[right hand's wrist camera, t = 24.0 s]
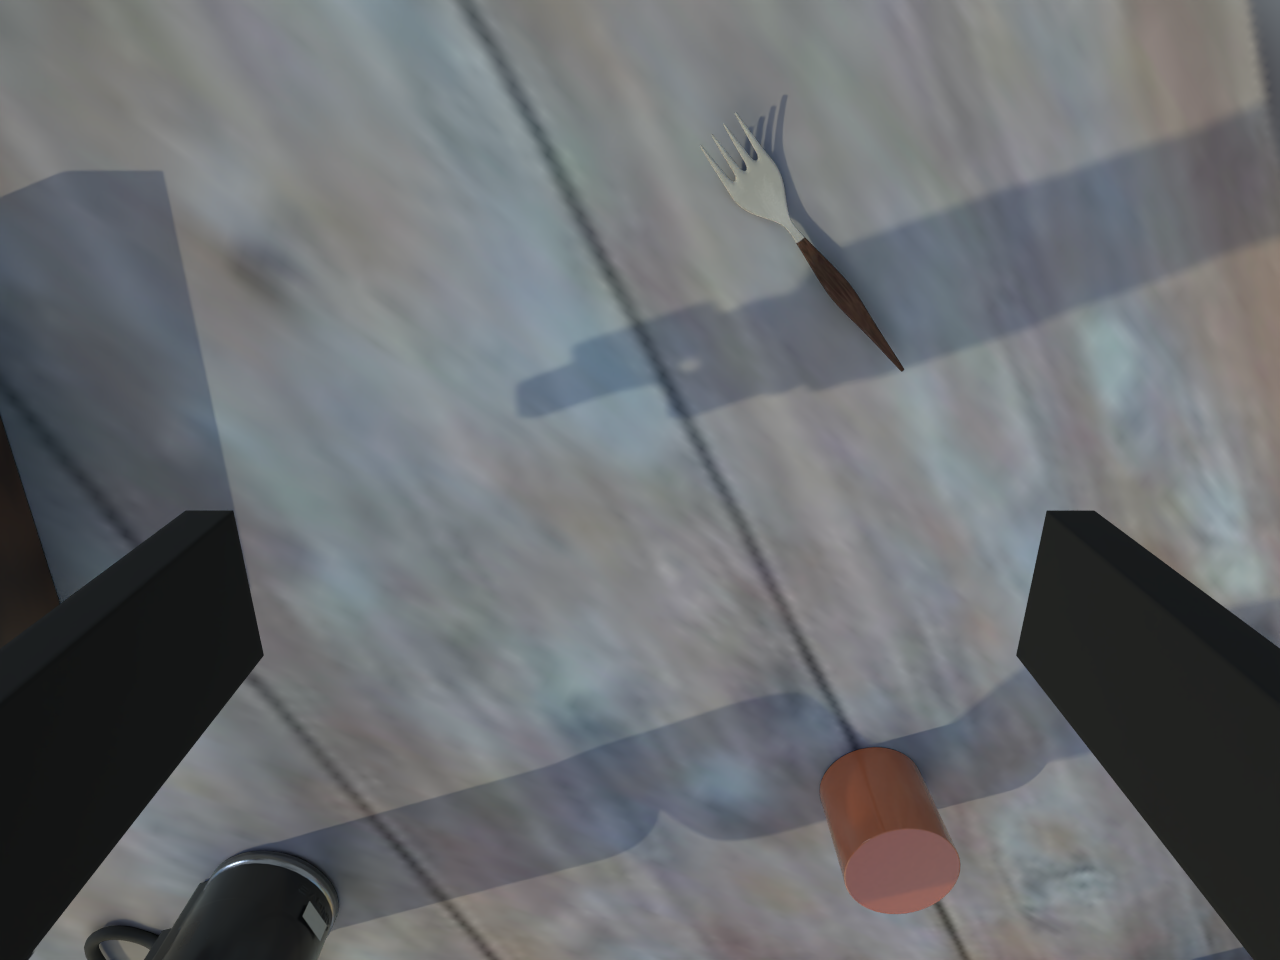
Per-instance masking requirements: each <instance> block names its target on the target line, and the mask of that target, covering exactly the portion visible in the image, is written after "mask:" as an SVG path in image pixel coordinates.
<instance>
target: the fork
mask: <svg viewBox="0 0 1280 960" xmlns="http://www.w3.org/2000/svg"><path fill="white" fill-rule="evenodd" d="M734 114H735V115H736V117H737V119H738V120H739V122H740V124H741V126H742V128H743V130H744V131H745V133H746V135H747V137H748V139H749V140H750V142H751V144H752V146H753V147H754V149H755V151H756V153H757V155H758V160H757V161H755V160H753V159H752V158H751V157H750V156H749V154H748V153H747V152H746V151H745V149H744V148H743V147H742V145H741V144H740V143H739V142H738V140H737V139H736V138H735V136H734V135H733V134H732V133H731V131H730V130H729V129H728V128H727V126H726V125H725V124H724V123H723V125H724V127H725V129H726V131H727V132H728V134H729V136H730V138H731V140H732V141H733V143H734V145H735V147H736V148H737V150H738V152H739V153H740V155H741V157H742V158H743V160H744V162H745V164H746V167H747V169H746V171H743V170H742V169H741V168H740V167H739V166H738V165H737V164H736V163H735V161H734V160H733V159H732V158H731V156H730V155H729V154H728V153H727V151H726V150H725V149H724V148H723V146H722V145H721V144H720V143H719V142H718V140H717V139H716V138H715V137H714V135H713V134H711V135H712V137H713V139H714V141H715V142H716V144H717V146H718V147H719V149H720V151H721V153H722V154H723V156H724V158H725V159H726V161H727V163H728V164H729V166H730V167H731V169H732V171H733V173H734V175H735V178H736V179H735V181H731V180H730V179H729V178H728V177H727V176H726V174H725V173H724V172H723V171H722V170H721V168H720V167H719V166H718V165H717V164H716V162H715V161H714V160H713V159H712V158H711V156H710V155H709V154H708V153H707V152H706V150H705V149H704V148H703V146H702V145H700V148H701V149H702V151H703V152H704V154H705V155H706V157H707V159H708V160H709V162H710V164H711V165H712V167H713V168H714V170H715V172H716V173H717V175H718V176H719V178H720V179H721V181H722V183H723V184H724V186H725V187H726V189H727V190H728V192H729V194H730V195H731V197H732V198H733V200H734V201H735V202H736V203H737V204H738V205H739V206H740V207H741V208H742V209H744V210H745V211H747V212H749V213H751V214H754V215H756V216H759V217H762V218H765V219H768V220H771V221H774V222H776V223H779V224H780V225H782V226H783V227H785V228H786V229H787V230H788V231H789V233H790V234H791V236H792V237H793V239H794V240H795V242H796V243H797V245H798V247H799V248H800V250H801V251H802V253H803V255H804V256H805V258H806V260H807V261H808V263H809V265H810V266H811V268H812V270H813V271H814V273H815V275H816V276H817V278H818V279H819V281H820V283H821V284H822V286H823V287H824V289H825V290H826V292H827V293H828V294H829V296H830V297H831V298H832V299H833V301H834V302H835V303H836V304H837V305H838V306H839V307H840V308H841V309H842V311H843V312H844V313H845V314H846V315H847V316H848V317H849V318H850V319H851V320H852V321H853V322H854V323H855V324H856V325H857V326H858V327H859V328H861V329H862V331H863V332H864V333H865V334H866V335H867V336H868V337H869V338H870V339H871V340H872V341H873V342H874V343H875V344H876V345H877V346H878V347H879V348H880V349H881V350H882V351H883V352H884V354H885V355H886V356H887V357H888V358H889V359H890V360H891V361H892V362H893V363H894V364H895V365H896V366H897V367H898V369H899V370H900V371H903V370H904V368H903V366H902V365H901V363H900V362H899V360H898V359H897V357H896V356H895V354H894V352H893V351H892V349H891V348H890V346H889V345H888V343H887V342H886V340H885V339H884V337H883V335H882V334H881V332H880V331H879V329H878V327H877V326H876V324H875V323H874V321H873V319H872V318H871V316H870V314H869V313H868V311H867V309H866V308H865V306H864V305H863V303H862V301H861V300H860V298H859V297H858V295H857V294H856V292H855V291H854V289H853V288H852V287H851V285H850V284H849V283H848V282H847V280H846V279H845V278H844V277H843V276H842V275H841V274H840V273H839V272H838V271H837V269H836V268H835V267H834V266H833V265H832V264H831V263H830V262H829V261H828V260H827V259H826V258H825V257H824V256H823V255H822V254H821V253H820V252H819V251H818V250H817V249H816V248H815V247H814V246H813V245H812V244H811V243H810V242H809V241H808V240H807V239H806V238H805V237H804V236H803V235H802V234H801V233H800V232H799V231H798V229H797V228H796V227H795V226H794V224H793V223H792V221H791V219H790V216H789V213H788V208H787V202H786V194H785V188H784V183H783V180H782V176H781V174H780V171H779V169H778V167H777V166H776V164H775V163H774V161H773V160H772V159H771V158H770V156H769V155H768V154H767V153H766V152H765V150H764V149H763V148H762V146H761V145H760V144H759V142H758V141H757V140H756V138H755V137H754V136H753V134H752V133H751V131H750V130H749V129H748V128H747V126H746V125H745V124H744V122H743V121H742V120H741V118H740V117H739V115H738V114H737V112H735V113H734Z"/></svg>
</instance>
